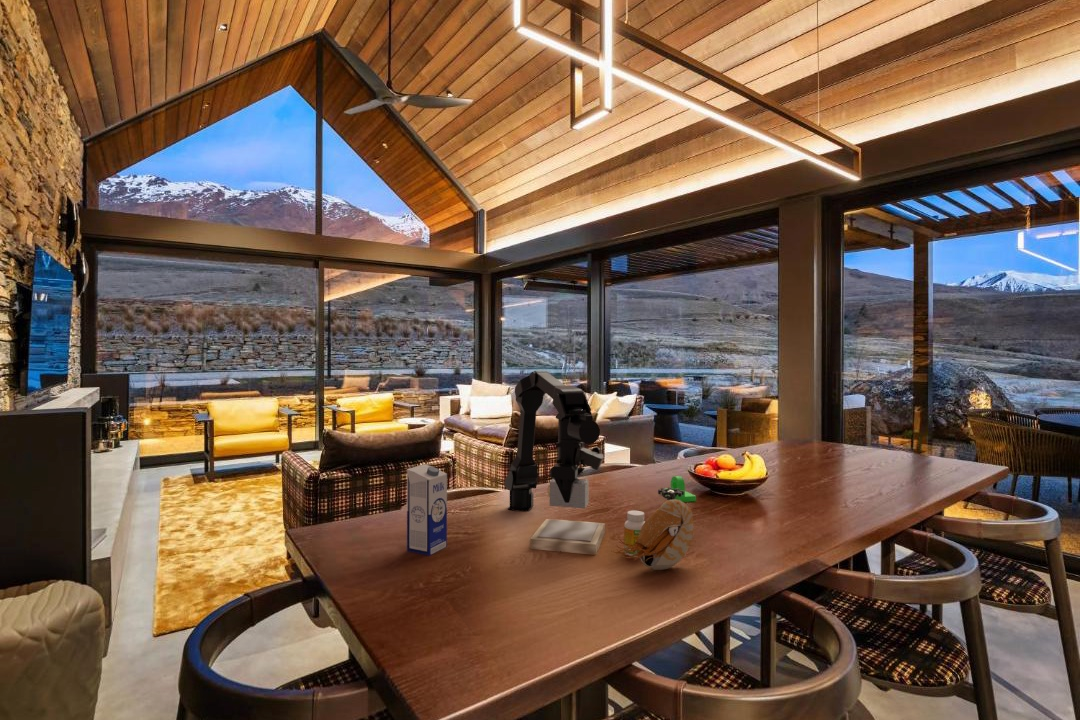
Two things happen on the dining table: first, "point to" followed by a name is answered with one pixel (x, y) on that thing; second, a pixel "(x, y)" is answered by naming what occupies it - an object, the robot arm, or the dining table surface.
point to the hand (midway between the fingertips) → (569, 499)
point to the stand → (568, 536)
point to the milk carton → (426, 510)
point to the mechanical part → (679, 483)
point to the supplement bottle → (633, 529)
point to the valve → (671, 493)
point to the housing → (577, 497)
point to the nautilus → (664, 536)
